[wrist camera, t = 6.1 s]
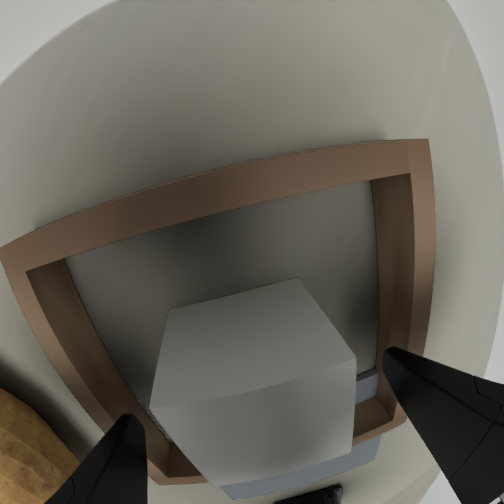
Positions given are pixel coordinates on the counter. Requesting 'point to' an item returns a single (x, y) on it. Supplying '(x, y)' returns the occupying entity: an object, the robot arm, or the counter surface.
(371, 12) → the counter surface
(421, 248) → the bin
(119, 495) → the robot arm
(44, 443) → the potato
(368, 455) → the mat
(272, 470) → the white cube
